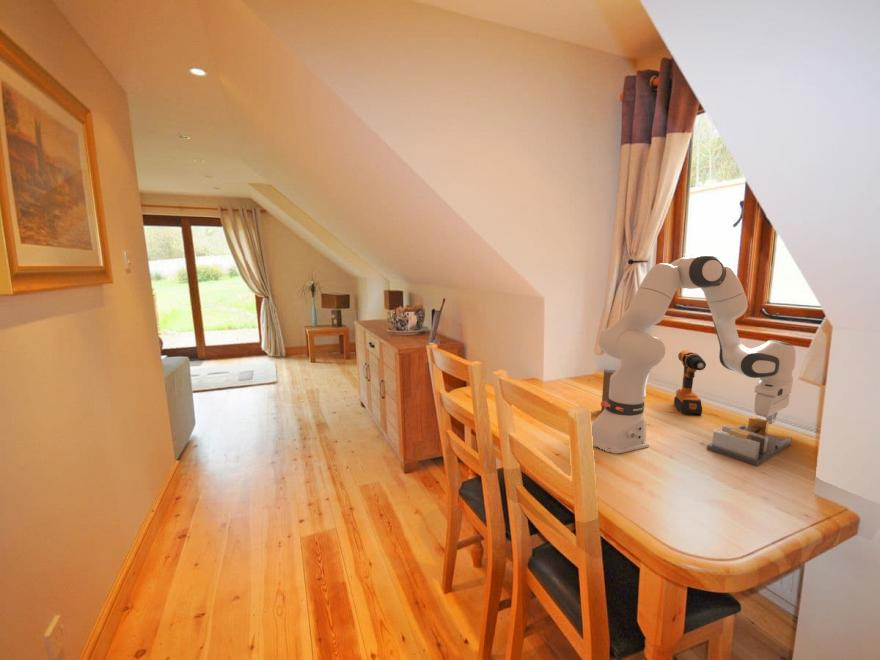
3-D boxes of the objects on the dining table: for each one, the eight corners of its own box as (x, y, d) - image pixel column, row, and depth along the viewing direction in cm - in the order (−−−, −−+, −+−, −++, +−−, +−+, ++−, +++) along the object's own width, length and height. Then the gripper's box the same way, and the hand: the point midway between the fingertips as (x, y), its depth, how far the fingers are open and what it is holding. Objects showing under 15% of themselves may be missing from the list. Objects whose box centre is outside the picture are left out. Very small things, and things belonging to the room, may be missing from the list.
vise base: (756, 466, 124) (759, 446, 123) (706, 449, 136) (708, 430, 135) (790, 444, 139) (793, 426, 138) (743, 430, 151) (745, 413, 150)
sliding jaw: (763, 453, 129) (766, 433, 128) (721, 440, 139) (723, 421, 138) (779, 443, 136) (781, 424, 135) (737, 431, 146) (740, 413, 145)
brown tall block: (624, 413, 168) (628, 371, 165) (624, 417, 164) (628, 374, 161) (601, 410, 172) (604, 369, 169) (601, 413, 168) (603, 371, 165)
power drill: (708, 421, 159) (715, 359, 155) (687, 420, 161) (693, 358, 157) (690, 403, 180) (696, 348, 176) (672, 402, 182) (677, 347, 178)
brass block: (744, 453, 130) (746, 435, 129) (726, 447, 134) (729, 430, 133) (749, 450, 132) (752, 432, 131) (732, 444, 136) (734, 427, 135)
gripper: (775, 379, 151) (771, 414, 153) (752, 388, 140) (747, 426, 143) (797, 383, 146) (792, 419, 148) (774, 393, 135) (769, 432, 137)
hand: (770, 423), depth 145 cm, fingers closed
